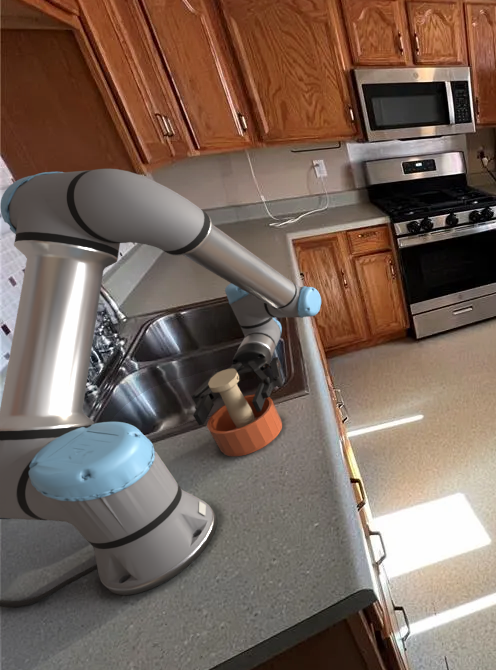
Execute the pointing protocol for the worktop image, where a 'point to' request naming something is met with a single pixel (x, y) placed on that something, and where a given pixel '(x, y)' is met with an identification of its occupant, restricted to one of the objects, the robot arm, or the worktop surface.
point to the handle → (232, 397)
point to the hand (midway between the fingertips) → (227, 413)
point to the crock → (245, 429)
